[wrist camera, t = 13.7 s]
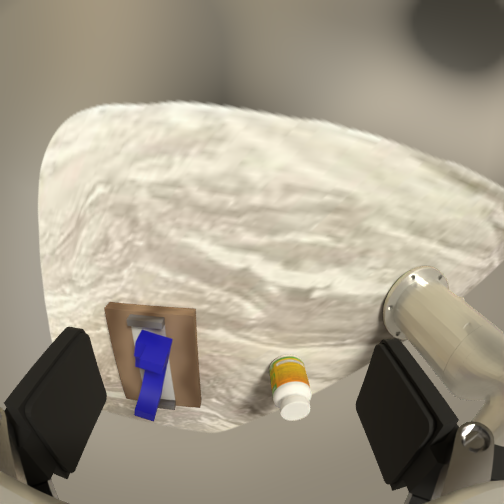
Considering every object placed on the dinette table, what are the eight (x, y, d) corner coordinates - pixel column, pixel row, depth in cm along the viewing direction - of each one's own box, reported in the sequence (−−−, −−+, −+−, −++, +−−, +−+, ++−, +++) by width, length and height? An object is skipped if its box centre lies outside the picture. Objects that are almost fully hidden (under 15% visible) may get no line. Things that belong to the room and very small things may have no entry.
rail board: (195, 308, 39) (191, 321, 36) (201, 399, 44) (199, 414, 41) (109, 302, 38) (100, 313, 35) (129, 390, 44) (124, 404, 40)
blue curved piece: (142, 329, 37) (128, 354, 32) (172, 338, 38) (163, 365, 32) (135, 386, 41) (124, 411, 35) (161, 394, 41) (153, 421, 35)
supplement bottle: (266, 357, 42) (271, 403, 33) (301, 350, 42) (314, 394, 32) (272, 382, 44) (278, 427, 34) (305, 375, 43) (317, 418, 34)
